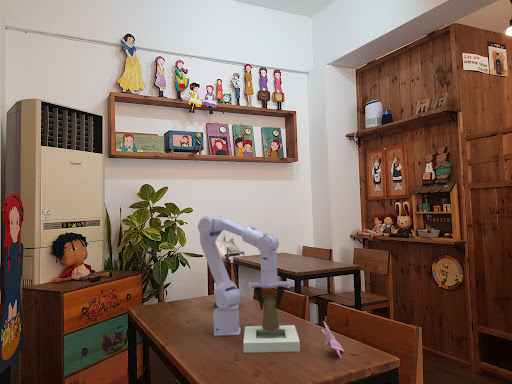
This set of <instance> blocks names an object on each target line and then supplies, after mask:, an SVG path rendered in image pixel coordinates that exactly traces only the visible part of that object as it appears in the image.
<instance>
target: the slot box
mask: <svg viewBox="0 0 512 384" xmlns="http://www.w3.org/2000/svg"><path fill="white" fill-rule="evenodd" d="M243 333H244V334H243V343H242V344H243V345H242V346H243V349H242V350H243V353H245V354H246V353H286V352H287V353H288V352H289V353H291V352H293V353H294V352H297V353H298V352H301V342H300V341H301V340H300V339H299V335H298V331H297V328H296V326H295V324H294V325H293V324H292V325H291V324H290V325H289V324H287V325H285V324H284V325H282V324H281V325H279V329H277V330H272V331H269V330H264V329H263V328H262V325H247V326H246V325H245V326H244V332H243Z"/></svg>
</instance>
